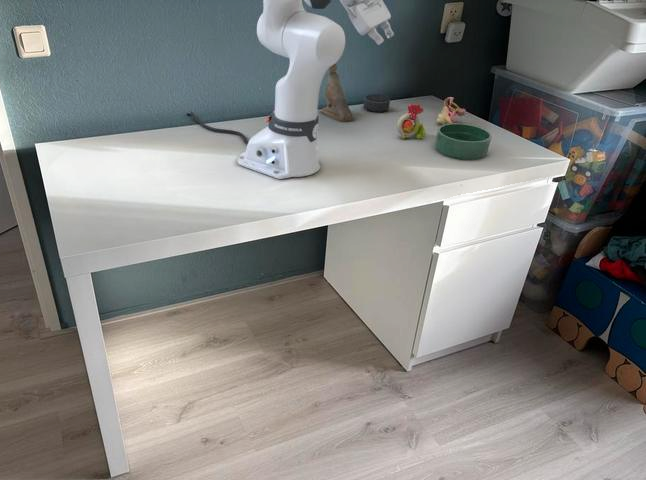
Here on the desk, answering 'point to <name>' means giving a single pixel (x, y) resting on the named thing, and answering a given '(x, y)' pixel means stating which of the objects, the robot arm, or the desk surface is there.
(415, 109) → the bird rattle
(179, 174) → the desk surface
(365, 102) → the smart speaker
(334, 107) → the worn brown figurine
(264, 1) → the robot arm
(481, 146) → the bowl
